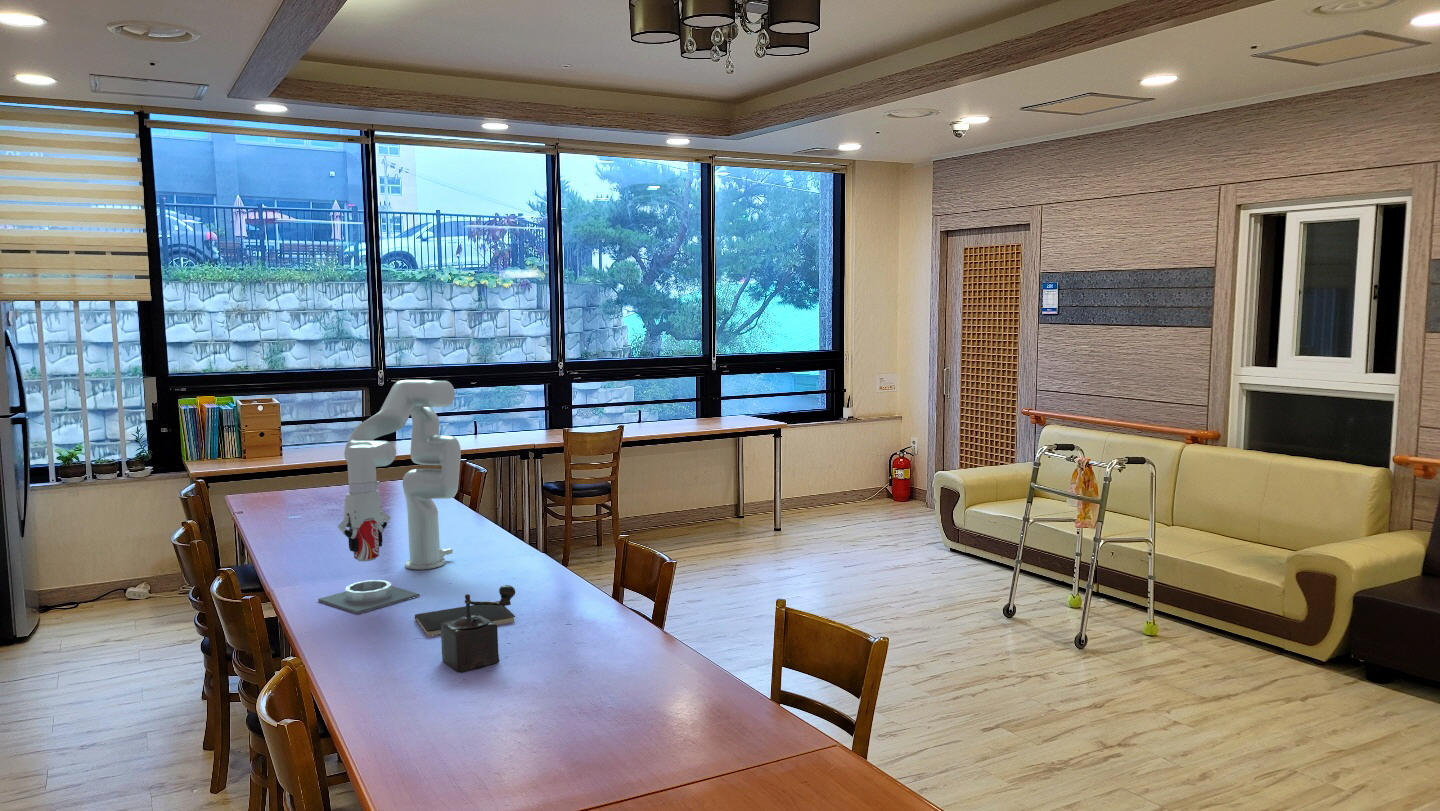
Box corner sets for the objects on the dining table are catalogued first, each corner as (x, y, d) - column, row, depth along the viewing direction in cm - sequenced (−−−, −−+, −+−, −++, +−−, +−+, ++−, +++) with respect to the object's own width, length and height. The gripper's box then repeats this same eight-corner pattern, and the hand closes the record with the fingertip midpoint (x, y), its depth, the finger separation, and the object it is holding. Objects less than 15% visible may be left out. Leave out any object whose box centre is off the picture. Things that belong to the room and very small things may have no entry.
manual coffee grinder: (459, 674, 230) (456, 598, 228) (440, 661, 239) (437, 587, 237) (521, 658, 239) (518, 585, 237) (500, 646, 248) (497, 575, 246)
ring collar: (375, 587, 298) (375, 577, 297) (400, 594, 290) (399, 584, 290) (337, 597, 288) (336, 587, 288) (361, 605, 280) (361, 595, 280)
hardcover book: (515, 624, 266) (515, 615, 266) (427, 639, 256) (427, 630, 255) (498, 608, 280) (498, 600, 280) (415, 622, 270) (414, 613, 269)
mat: (379, 585, 303) (379, 582, 303) (419, 596, 291) (419, 593, 290) (318, 601, 287) (318, 598, 287) (357, 614, 275) (357, 611, 275)
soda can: (371, 562, 283) (369, 521, 282) (348, 561, 285) (346, 520, 284) (384, 556, 290) (382, 516, 289) (362, 555, 292) (360, 515, 290)
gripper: (382, 481, 294) (385, 540, 296) (327, 491, 281) (331, 552, 283) (397, 484, 290) (400, 544, 292) (342, 494, 276) (345, 556, 278)
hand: (366, 548), depth 287 cm, fingers closed on soda can, 7 cm apart
